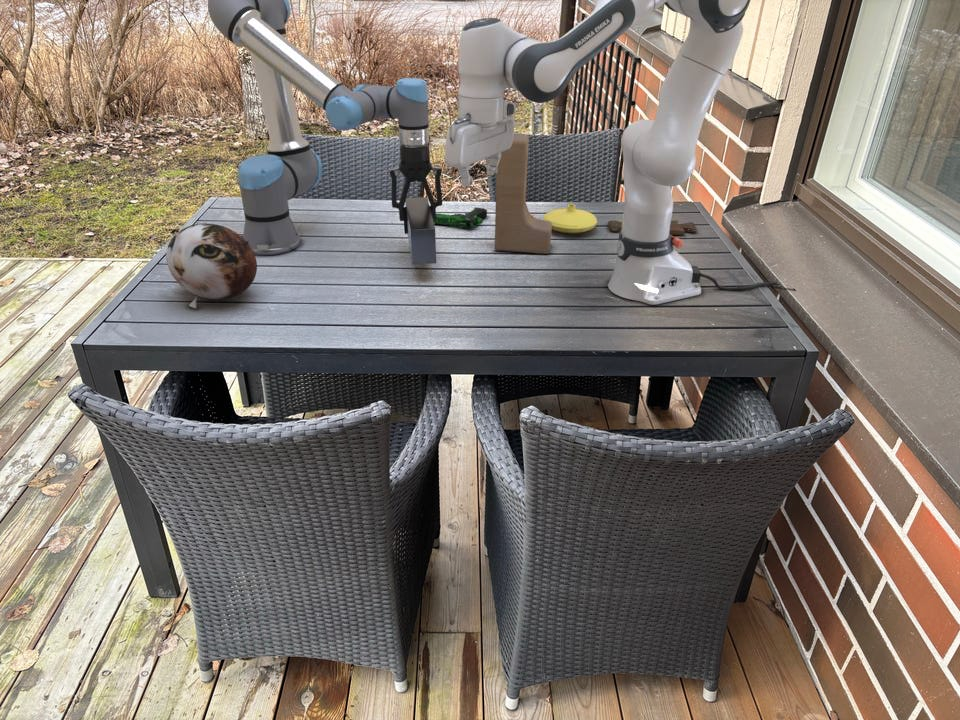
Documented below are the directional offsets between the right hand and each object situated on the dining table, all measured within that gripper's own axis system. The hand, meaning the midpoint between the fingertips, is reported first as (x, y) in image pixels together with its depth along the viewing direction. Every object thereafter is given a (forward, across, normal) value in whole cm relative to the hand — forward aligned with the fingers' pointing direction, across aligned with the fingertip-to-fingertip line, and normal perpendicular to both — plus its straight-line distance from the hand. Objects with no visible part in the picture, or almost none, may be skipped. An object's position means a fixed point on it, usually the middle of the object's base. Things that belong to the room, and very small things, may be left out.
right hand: (479, 179), depth 147 cm
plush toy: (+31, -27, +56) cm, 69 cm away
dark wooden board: (+31, +75, -12) cm, 82 cm away
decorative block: (+31, +40, +12) cm, 52 cm away
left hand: (+26, +23, +34) cm, 48 cm away
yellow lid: (+31, +61, +8) cm, 69 cm away
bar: (+26, +16, +28) cm, 42 cm away
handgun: (+31, +48, +39) cm, 69 cm away
